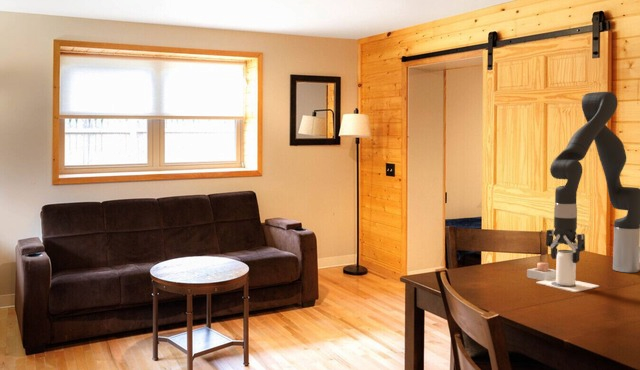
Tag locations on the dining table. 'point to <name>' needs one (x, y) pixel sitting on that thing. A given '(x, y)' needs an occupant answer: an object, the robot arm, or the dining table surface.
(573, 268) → the can
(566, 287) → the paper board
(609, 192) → the robot arm
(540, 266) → the button
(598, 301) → the dining table surface
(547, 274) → the button housing
